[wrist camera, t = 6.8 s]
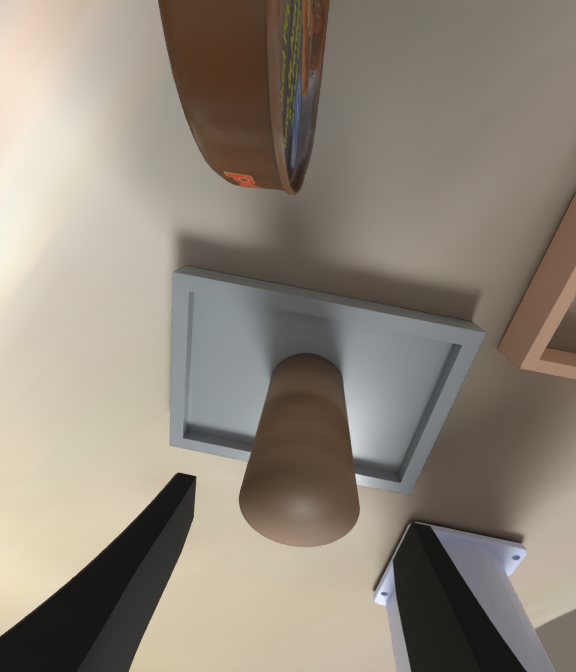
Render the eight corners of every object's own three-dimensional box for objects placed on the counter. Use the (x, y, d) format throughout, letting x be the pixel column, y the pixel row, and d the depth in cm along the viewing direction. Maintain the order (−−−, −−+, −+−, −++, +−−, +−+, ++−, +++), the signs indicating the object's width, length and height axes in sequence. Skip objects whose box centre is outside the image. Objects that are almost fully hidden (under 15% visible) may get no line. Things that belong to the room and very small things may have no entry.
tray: (403, 475, 20) (409, 495, 19) (179, 429, 20) (169, 445, 19) (472, 321, 16) (486, 333, 14) (185, 265, 16) (172, 271, 15)
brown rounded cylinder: (329, 423, 18) (335, 558, 11) (263, 404, 18) (228, 529, 11) (354, 365, 16) (379, 481, 10) (281, 344, 16) (254, 446, 10)
